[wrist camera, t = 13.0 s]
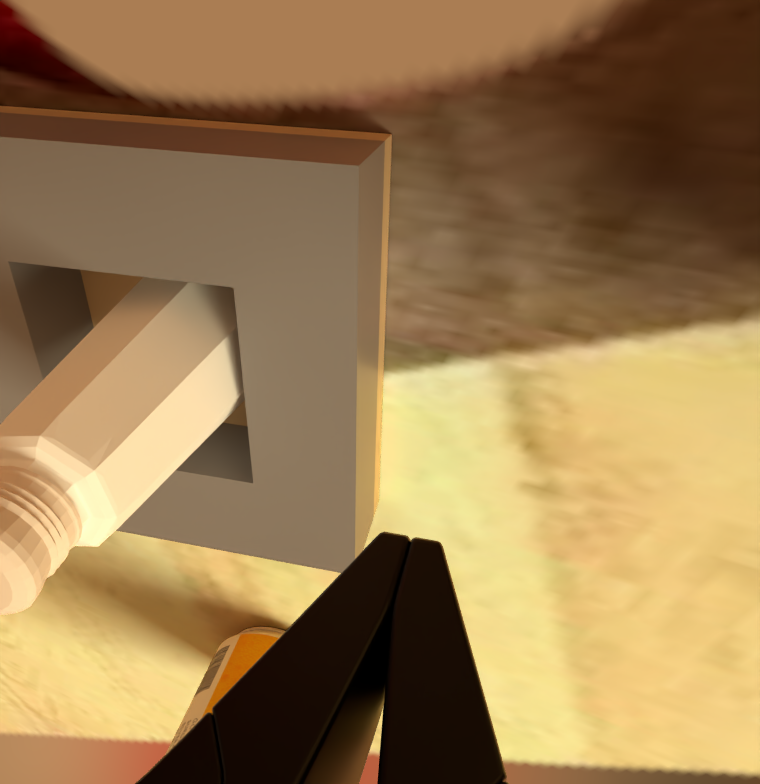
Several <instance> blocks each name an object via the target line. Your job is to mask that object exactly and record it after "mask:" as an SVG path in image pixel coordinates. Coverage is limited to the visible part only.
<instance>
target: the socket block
mask: <svg viewBox="0 0 760 784" xmlns="http://www.w3.org/2000/svg"><path fill="white" fill-rule="evenodd" d="M391 150H392V134H385V133H371V132H358V131H344V130H330V129H316V128H302V127H289V126H275V125H261V124H247V123H233V122H219V121H206V120H192V119H178V118H164V117H150V116H137V115H123V114H109V113H95V112H81V111H67V110H54V109H40V108H26V107H12V106H0V425H1V423H2V422H3V421H4V420H5V419H6V418H7V416H8V415H9V414H10V413H11V412H12V411H13V410H14V409H15V408H16V407H17V406H18V405H19V404H20V403H21V402H22V401H23V400H24V399H25V398H26V397H27V396H28V395H29V394H30V393H31V392H32V391H33V390H34V389H35V388H36V387H37V386H38V385H39V384H40V383H41V382H42V380H43V379H44V378H45V377H46V376H47V375H48V374H49V373H50V372H51V371H52V370H53V369H54V368H55V367H56V366H57V365H58V364H59V363H60V362H61V361H62V360H63V359H64V358H65V357H66V356H67V355H68V354H69V353H70V352H71V351H72V350H73V349H74V348H75V347H76V346H77V345H78V344H79V343H80V342H81V341H82V340H83V339H84V338H85V337H86V336H87V335H88V333H89V332H90V331H91V330H92V329H93V328H94V327H95V326H96V325H97V324H98V323H99V322H100V321H101V320H102V319H103V318H104V317H105V316H106V315H107V314H108V313H109V312H110V311H111V310H112V309H113V308H114V307H115V306H116V305H117V304H118V303H119V302H120V301H121V300H122V299H123V298H124V297H125V296H126V295H127V294H128V293H129V292H130V291H131V290H132V289H133V287H134V286H135V285H136V284H137V283H138V282H139V281H140V280H141V279H142V278H143V277H147V278H156V279H164V280H173V281H181V282H190V283H199V284H207V285H216V286H224V287H230V288H232V289H233V290H234V298H235V307H236V317H237V327H238V337H239V347H240V357H241V367H242V376H243V386H244V396H245V400H244V401H243V402H242V403H241V404H240V405H239V406H238V407H237V408H236V409H235V410H234V412H233V413H232V414H231V415H230V416H229V417H228V418H227V419H226V420H225V421H224V422H223V423H222V424H221V425H220V426H219V427H218V428H217V429H216V430H215V431H214V432H213V433H212V434H211V435H210V436H209V437H208V438H207V439H206V440H205V441H204V442H203V443H202V444H201V445H200V446H199V447H198V448H197V449H196V450H195V451H194V452H193V453H192V454H191V455H190V456H189V457H188V458H187V459H186V460H185V461H184V462H183V463H182V464H181V465H180V466H179V467H178V468H177V469H176V470H175V471H174V472H173V473H172V474H171V475H170V476H169V477H168V478H167V479H166V480H165V481H164V482H163V483H162V484H161V485H160V486H159V488H158V489H157V490H156V491H155V492H154V493H153V494H152V495H151V496H150V497H149V498H148V499H147V500H146V501H145V502H144V503H143V504H142V505H141V506H140V507H139V508H138V509H137V510H136V511H135V512H134V513H133V514H132V515H131V516H130V517H129V518H128V519H127V520H126V521H125V522H124V523H123V524H122V525H121V526H120V527H119V528H118V529H117V531H122V532H127V533H132V534H138V535H143V536H148V537H154V538H159V539H164V540H170V541H175V542H180V543H186V544H191V545H196V546H201V547H207V548H212V549H217V550H223V551H228V552H233V553H239V554H244V555H249V556H254V557H260V558H265V559H270V560H276V561H281V562H286V563H292V564H297V565H302V566H307V567H313V568H318V569H323V570H329V571H334V572H339V573H342V572H343V571H344V570H345V569H346V568H347V567H348V566H349V565H350V564H351V563H352V562H353V561H354V560H355V559H356V558H357V556H358V555H359V554H360V553H361V552H362V551H363V549H364V545H365V542H366V539H367V536H368V533H369V530H370V527H371V524H372V521H373V517H374V514H375V511H376V508H377V505H378V502H379V485H380V457H381V429H382V401H383V373H384V345H385V317H386V290H387V262H388V234H389V206H390V178H391Z"/></svg>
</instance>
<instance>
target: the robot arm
mask: <svg viewBox="0 0 760 784" xmlns="http://www.w3.org/2000/svg"><path fill="white" fill-rule="evenodd" d="M383 705H384V709H383ZM382 709H383V721H382V734H381V747H380V759H379V773H378V784H509V783H508V782H506V778H507V776H506V772H505V768H504V765H503V761H502V757H501V754H500V750H499V747H498V743H497V739H496V736H495V732H494V729H493V725H492V721H491V718H490V714H489V711H488V707H487V704H486V700H485V696H484V693H483V689H482V686H481V682H480V678H479V675H478V671H477V668H476V664H475V660H474V657H473V653H472V650H471V646H470V643H469V639H468V635H467V632H466V628H465V625H464V621H463V617H462V614H461V610H460V607H459V603H458V600H457V596H456V592H455V589H454V585H453V582H452V578H451V574H450V571H449V567H448V564H447V560H446V556H445V553H444V549H443V546H442V544H441V543H440V542H438V541H434V540H428V539H423V538H417V537H416V538H413V539H412V540H410V538H409V537H408V536H406V535H400V534H394V533H389V532H382V533H380V534H379V535H378V536H377V537H376V538H375V539H374V540H373V541H372V542H371V543H370V544H369V545H368V546H367V547H366V548H365V549H364V550H363V551H362V552H361V553H360V554H359V555H358V556H357V558H356V559H355V560H354V561H353V562H352V563H351V564H350V565H349V566H348V567H347V568H346V569H345V570H344V571H343V572H342V573H341V574H340V575H339V576H338V577H337V578H336V579H335V580H334V581H333V582H332V584H331V585H330V586H329V587H328V588H327V589H326V590H325V591H324V592H323V593H322V594H321V595H320V596H319V597H318V598H317V599H316V600H315V601H314V602H313V603H312V604H311V605H310V606H309V607H308V608H307V609H306V611H305V612H304V613H303V614H302V615H301V616H300V617H299V618H298V619H297V620H296V621H295V622H294V623H293V624H292V625H291V626H290V627H289V628H288V629H287V630H286V631H285V632H284V633H283V634H282V635H281V637H280V638H279V639H278V640H277V641H276V642H275V643H274V644H273V645H272V646H271V647H270V648H269V649H268V650H267V651H266V652H265V653H264V654H263V655H262V656H261V657H260V658H259V659H258V660H257V661H256V663H255V664H254V665H253V666H252V667H251V668H250V669H249V670H248V671H247V672H246V673H245V674H244V675H243V676H242V677H241V678H240V679H239V680H238V681H237V682H236V683H235V684H234V685H233V686H232V687H231V689H230V690H229V691H228V692H227V693H226V694H225V695H224V696H223V697H222V698H221V699H220V700H219V701H218V702H217V703H216V704H215V705H214V706H213V708H212V713H210V712H208V713H206V714H205V715H204V716H203V717H202V718H201V719H200V720H199V721H198V722H197V723H196V725H195V726H194V727H193V728H192V729H191V730H190V731H189V732H188V733H187V734H186V735H185V736H184V737H183V738H182V739H181V740H180V741H179V742H178V743H177V744H176V745H175V746H174V747H173V748H172V749H171V750H170V751H169V752H168V753H167V754H166V755H165V756H164V757H163V758H162V759H161V760H160V761H159V762H158V763H157V764H156V765H155V766H154V767H153V768H152V769H151V770H150V771H149V772H148V773H146V774H145V775H144V776H143V777H142V778H141V779H140V780H139V781H137V782H136V783H135V784H359V782H360V778H361V775H362V772H363V769H364V766H365V763H366V760H367V756H368V753H369V750H370V747H371V744H372V741H373V738H374V734H375V731H376V728H377V725H378V722H379V719H380V716H381V712H382ZM212 714H213V715H212Z"/></svg>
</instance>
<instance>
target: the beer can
mask: <svg viewBox="0 0 760 784" xmlns="http://www.w3.org/2000/svg"><path fill="white" fill-rule="evenodd" d="M284 632H285V631H284V630H281V629H277V628H272V627H252V628H248V629H246V630H243V631H241V632H240V633H239V634H237V635H235V636H232V637H230V638H228V639H226V640H225V641H223V642H222V643H221V644H220V646H219V648H218V649H217V651H216V653H215V655H214V657H213V659H212V662H211V664H210V666H209V668H208V670H207V672H206V674H205V676H204V678H203V680H202V682H201V684H200V686H199V688H198V690H197V692H196V694H195V696H194V698H193V700H192V702H191V704H190V706H189V708H188V710H187V712H186V714H185V716H184V718H183V720H182V722H181V724H180V726H179V728H178V730H177V732H176V734H175V736H174V739H173V741H172V743H171V745H170V747H169V749H168V751H167V753H168V752H169V751H170V750H171V749H172V748H173V747H174V746H175V745H176V744H177V743H178V742H179V741H180V740H181V739H182V738H183V737H184V736H185V735H186V734H187V733H188V732H189V731H190V730H191V729H192V728H193V727H194V726H195V725H196V723H197V722H198V721H199V720H200V719H201V718H202V717H203V716H204V715H205V714H206V713H208V712H210V713H212V708H213V706H214V705H215V704H216V703H217V702H218V701H219V700H220V699H221V698H222V697H223V696H224V695H225V694H226V693H227V692H228V691H229V690H230V689H231V687H232V686H233V685H234V684H235V683H236V682H237V681H238V680H239V679H240V678H241V677H242V676H243V675H244V674H245V673H246V672H247V671H248V670H249V669H250V668H251V667H252V666H253V665H254V664H255V663H256V661H257V660H258V659H259V658H260V657H261V656H262V655H263V654H264V653H265V652H266V651H267V650H268V649H269V648H270V647H271V646H272V645H273V644H274V643H275V642H276V641H277V640H278V639H279V638H280V637H281V635H282V634H283V633H284ZM212 715H213V714H212ZM167 753H166V754H167Z"/></svg>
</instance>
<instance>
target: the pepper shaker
mask: <svg viewBox="0 0 760 784" xmlns="http://www.w3.org/2000/svg"><path fill="white" fill-rule="evenodd" d="M244 400H245V396H244V386H243V376H242V367H241V357H240V347H239V337H238V327H237V317H236V307H235V298H234V290H233V289H232V288H230V287H224V286H216V285H207V284H199V283H190V282H181V281H173V280H164V279H156V278H147V277H143V278H142V279H141V280H140V281H139V282H138V283H137V284H136V285H135V286H134V287H133V289H132V290H131V291H130V292H129V293H128V294H127V295H126V296H125V297H124V298H123V299H122V300H121V301H120V302H119V303H118V304H117V305H116V306H115V307H114V308H113V309H112V310H111V311H110V312H109V313H108V314H107V315H106V316H105V317H104V318H103V319H102V320H101V321H100V322H99V323H98V324H97V325H96V326H95V327H94V328H93V329H92V330H91V331H90V332H89V333H88V335H87V336H86V337H85V338H84V339H83V340H82V341H81V342H80V343H79V344H78V345H77V346H76V347H75V348H74V349H73V350H72V351H71V352H70V353H69V354H68V355H67V356H66V357H65V358H64V359H63V360H62V361H61V362H60V363H59V364H58V365H57V366H56V367H55V368H54V369H53V370H52V371H51V372H50V373H49V374H48V375H47V376H46V377H45V378H44V379H43V380H42V382H41V383H40V384H39V385H38V386H37V387H36V388H35V389H34V390H33V391H32V392H31V393H30V394H29V395H28V396H27V397H26V398H25V399H24V400H23V401H22V402H21V403H20V404H19V405H18V406H17V407H16V408H15V409H14V410H13V411H12V412H11V413H10V414H9V415H8V416H7V418H6V419H5V420H4V421H3V422H2V423H1V425H0V615H7V614H12V613H17V612H20V611H23V610H25V609H27V608H28V607H30V606H31V605H32V604H33V602H34V601H35V600H36V598H37V597H38V595H39V593H40V592H41V590H42V587H43V585H44V583H45V581H46V579H47V578H48V577H50V576H51V575H53V574H54V573H55V571H56V569H57V568H59V567H60V565H61V563H62V562H63V561H64V560H65V559H66V557H67V555H68V554H69V550H70V549H71V548H73V547H74V546H94V547H98V546H99V545H100V544H101V543H103V542H104V541H105V540H106V539H107V538H108V537H109V536H110V535H111V534H113V533H114V532H115V531H116V530H117V529H118V528H119V527H120V526H121V525H122V524H123V523H124V522H125V521H126V520H127V519H128V518H129V517H130V516H131V515H132V514H133V513H134V512H135V511H136V510H137V509H138V508H139V507H140V506H141V505H142V504H143V503H144V502H145V501H146V500H147V499H148V498H149V497H150V496H151V495H152V494H153V493H154V492H155V491H156V490H157V489H158V488H159V486H160V485H161V484H162V483H163V482H164V481H165V480H166V479H167V478H168V477H169V476H170V475H171V474H172V473H173V472H174V471H175V470H176V469H177V468H178V467H179V466H180V465H181V464H182V463H183V462H184V461H185V460H186V459H187V458H188V457H189V456H190V455H191V454H192V453H193V452H194V451H195V450H196V449H197V448H198V447H199V446H200V445H201V444H202V443H203V442H204V441H205V440H206V439H207V438H208V437H209V436H210V435H211V434H212V433H213V432H214V431H215V430H216V429H217V428H218V427H219V426H220V425H221V424H222V423H223V422H224V421H225V420H226V419H227V418H228V417H229V416H230V415H231V414H232V413H233V412H234V410H235V409H236V408H237V407H238V406H239V405H240V404H241V403H242V402H243V401H244Z"/></svg>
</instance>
